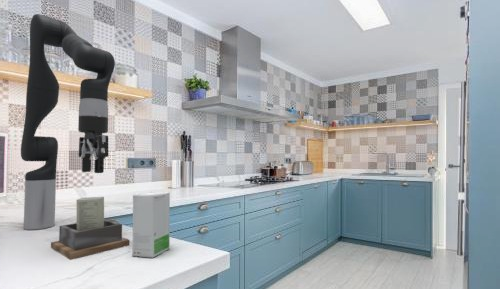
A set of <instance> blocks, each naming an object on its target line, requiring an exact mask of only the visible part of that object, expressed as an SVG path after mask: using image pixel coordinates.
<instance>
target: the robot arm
mask: <svg viewBox="0 0 500 289" xmlns="http://www.w3.org/2000/svg"><path fill="white" fill-rule="evenodd" d="M45 46H51V47H54V48H62V50H63V53H64V54H65V55H66V56H68V57H69V58H71V59H72V61H73V64H74V66H76V67H77V68H78V69H80V70H84V71H87V72H91V73H94V74H95V73H96V74H97V75H96V77H95V78H86V79H85V78H84V79H83V80H81V82H80V86H79V90H80V92H79V93H80V94H79V105H78V124H77V125H78V126H77V127H78V128H77V130H78V132H79V133H84V136H79V140H78V157H79V158H80V159H81V172H83V173H89V172H91V170H92V156H93V157H94V160H93V161H94V163H93V164H94V168H93V171H94V173H95V174H103V173H104V169H105V168H104V167H105V166H104V165H105V164H104V163H105V159H106V158H108V157H109V135H106V134H107V133H108V132H109V104H108V103H109V102H108V98H109V94H108V92H109V91H108V90H109V85H110V82H111V79H112V75H113V73H114V71H115V66H116V61H115V58H114V56H113V54H112V53H111V52H110V51H107V50H104V49H101V48H99V47H94V46H93V44H92V43H90V42H89V41H87V40H85V39H84V38H82V37H80V36H79V35H78V34H77V33H76V32H75V31H74V30H73V29H72V27H71V26H70V25H69V24H68V23H66V22H65V21H62V20H60V19H57V18H53V17H50V16H47V15H43V14H40V13H36V14H34V15H33V16H32V17H31V20H30V24H29V65H28V76H27V85H26V96H25V98H26V99H25V116H24V124H23V125H24V126H23V131H22V137H21V138H22V139H21V145H20V157H21V159H22V160H23V161H24V162H45V163H44V164H43V166H41V167H39V168H37V169H33V170H30V171H27V172H26V173H25V176H24V206H23V209H24V210H23V230H31V231H32V230H42V229H48V228H52V227H54V226H55V224H56V222H55V220H56V194H57V191H56V186H57V185H56V183H57V163H58V154H59V153H58V151H59V143H58V140H57V138H56V137H55V136H54V137H53V136H42V135H41V136H39V135H38V136H37V135H35V134H36V133H37V129H38V128H39V126H40V125H41V123H42V122H43V121H44V120H45V118H47V116H48V115H50V114H51V112H52V111H53V110H54V109H55V108H56V106H57V105H58V103H59V94H60V83H59V81H58V79H57V77H56V75H55V73H54V72H53V69H52V68H51V67H50V65H49V62H48V61H47V57H46V53H45Z"/></svg>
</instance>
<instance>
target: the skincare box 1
mask: <svg viewBox="0 0 500 289" xmlns="http://www.w3.org/2000/svg"><path fill="white" fill-rule="evenodd" d="M104 219H105V197H104V196H97V197H96V196H93V197H80V198H78V199H76V223H77V231H83V230H89V229H94V228H100V227H104Z"/></svg>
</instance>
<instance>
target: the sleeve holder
mask: <svg viewBox="0 0 500 289" xmlns="http://www.w3.org/2000/svg"><path fill="white" fill-rule="evenodd" d="M58 228H59V230H58V234H59V238H58V240H57V241H52V242H50V248H51V249H52V250H54V251H56V252H57V253H59V254H61V255H62V256H64V257H66V258H67V259H69V260H75V259H79V258H83V257H88V256H91V255H96V254H99V253H103V252H107V251H111V250H116V249H119V248H124V246H125V247H128V246H127V245H129V246H130V239H129V238H128V239H127V238H125V237H123V224H122V223H119V222H115V221H112V220H108V219H106V218H104V227H100V228H94V229H89V230H83V231H77V222H76V223H70V224H63V225H62V224H61V225H59V227H58Z"/></svg>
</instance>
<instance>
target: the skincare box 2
mask: <svg viewBox="0 0 500 289" xmlns="http://www.w3.org/2000/svg"><path fill="white" fill-rule="evenodd" d="M170 194H171V193H170V192H167V191H165V192H164V191H162V192H159V191H158V192H152V191H151V192H142V193H134V194H133V195H132V246H131V247H132V248H131V249H132V251H131V252H132V254H131V255H132V257H137V256H139V257H138V258H150V259H151V258H152V259H153V258H155V257H156V256H158V255H161V254H162V253H165V252H166V251H168V250H170V247H171V245H170V242H171V241H170V240H171V238H170V237H171V236H170V235H171V234H170V231H171V230H170V228H171V226H170V225H171V224H170V223H171V222H170V221H171V220H170V218H171V217H170V213H171V212H170V211H171V210H170V208H171V206H170V204H171V203H170V201H171V199H170V198H171V197H170V196H171V195H170Z"/></svg>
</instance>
